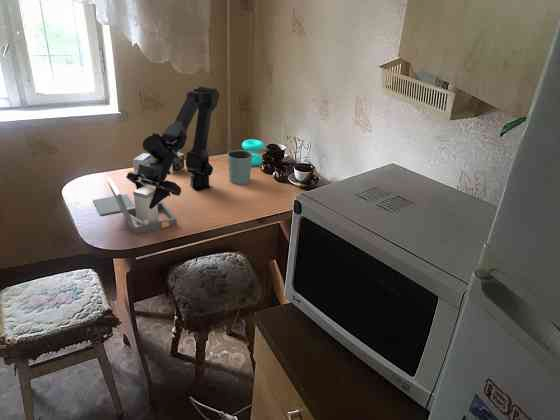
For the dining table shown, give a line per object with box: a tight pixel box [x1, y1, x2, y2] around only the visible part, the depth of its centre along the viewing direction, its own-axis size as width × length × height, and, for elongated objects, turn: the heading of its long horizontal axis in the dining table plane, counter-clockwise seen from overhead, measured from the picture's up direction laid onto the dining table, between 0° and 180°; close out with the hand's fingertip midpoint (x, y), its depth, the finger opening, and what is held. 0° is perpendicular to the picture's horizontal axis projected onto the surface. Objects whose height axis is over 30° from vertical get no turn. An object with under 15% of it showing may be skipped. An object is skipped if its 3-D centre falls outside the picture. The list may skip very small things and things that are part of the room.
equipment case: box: [105, 176, 178, 235], centre depth 143 cm, size 18×15×15 cm
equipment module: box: [133, 185, 160, 225], centre depth 144 cm, size 5×5×12 cm
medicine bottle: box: [168, 147, 185, 174], centre depth 184 cm, size 7×7×12 cm
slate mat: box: [92, 193, 135, 217], centre depth 155 cm, size 12×12×1 cm
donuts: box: [241, 139, 265, 167], centre depth 198 cm, size 10×10×10 cm
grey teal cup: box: [227, 149, 253, 186], centre depth 178 cm, size 10×10×12 cm
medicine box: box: [132, 152, 153, 178], centre depth 177 cm, size 8×4×9 cm, turn 169°
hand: (143, 206), depth 142 cm, fingers closed on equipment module, 5 cm apart
